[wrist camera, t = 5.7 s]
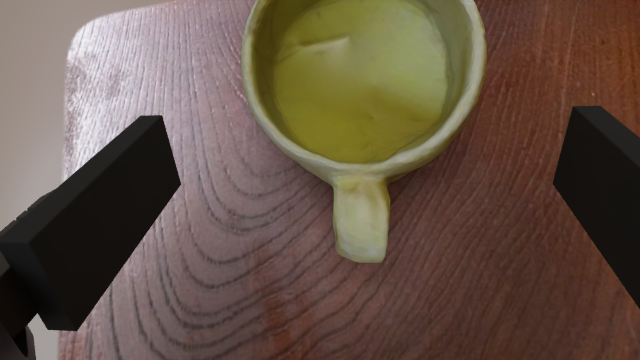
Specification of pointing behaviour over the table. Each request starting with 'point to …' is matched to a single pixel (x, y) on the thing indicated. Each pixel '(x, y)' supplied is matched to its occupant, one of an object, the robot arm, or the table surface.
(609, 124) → the robot arm
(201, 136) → the table surface
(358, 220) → the mug
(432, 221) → the table surface
